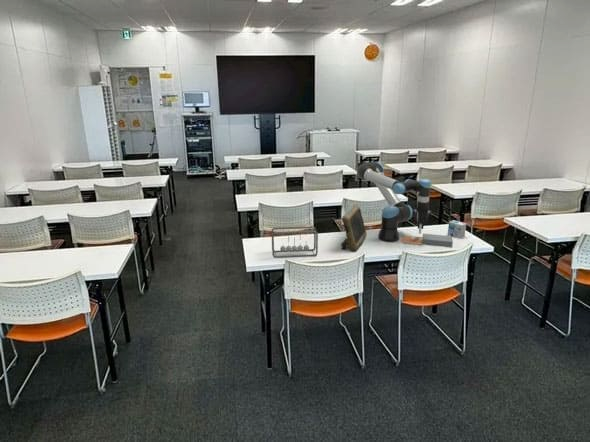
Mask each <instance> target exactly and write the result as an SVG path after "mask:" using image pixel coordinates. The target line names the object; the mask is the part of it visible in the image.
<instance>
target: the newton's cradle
mask: <svg viewBox="0 0 590 442" xmlns="http://www.w3.org/2000/svg"><path fill="white" fill-rule="evenodd" d="M301 229H302V230H301ZM303 229H304V230H303ZM306 229H308V230H306ZM309 229H312V230H309ZM316 229H317V228H316V227H315V226H313V225H312V226H284V227H283V226H282V227H273V228H271V231H270V232H271V252H272V257H273V258H277V259H278V258H303V257H304V258H305V257H316V256H317V255H318V252H319V249H318V248H319V247H318V246H319V233H318V231H317V230H316ZM276 230H277V231H276ZM278 230H282V231H278ZM284 230H287V231H284ZM289 230H291V231H289ZM292 230H293V231H292ZM312 233H313V248H311V249H310V246H309V245H307V244H308V243H307V242H305V245H301V244H298V246H297V245H295V244H296V243H295V242H296V238H293V239H294V240H293V241H294V243H293V244H294V245H292V246H291V245H288V246H285V245H282V246H280V250H275V237H274V235H286V234H288V236H287V237H288V242H290V234H291V235H292V234H299V239H301V237H302V236H301V235H302V234H312ZM314 251H315V252H314ZM287 252H288V253H291V252H312V254H297V255H291V254H290V255H277V253H287Z"/></svg>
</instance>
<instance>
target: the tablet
mask: <svg viewBox="0 0 590 442" xmlns="http://www.w3.org/2000/svg"><path fill="white" fill-rule="evenodd" d="M341 221H342V223H343V227H344V230H345V239H344V241H343V242H342V243H341V250H342V251H344V250H347V247H348V251H350V252H351V253H356V252H357V251H358V250H359V248H360V247H361V246H362V245H363V243H364V241H365V240H366V237H367V230H366V226H365V221H364V218H363V215H362V210H361V208H360V206H359V205H358V204H354V205H353V206H352V207H351V208H350V209H349V211H348V212H346V213H345V214H344V215H343V216H342V217H341Z"/></svg>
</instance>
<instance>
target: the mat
mask: <svg viewBox="0 0 590 442" xmlns="http://www.w3.org/2000/svg"><path fill="white" fill-rule="evenodd" d="M411 236H412V235H407V234H406V235H402V241H401V244H405V243H407V245H418V246H423V244H422V242H415V241H411ZM416 237H418V236H416Z"/></svg>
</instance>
